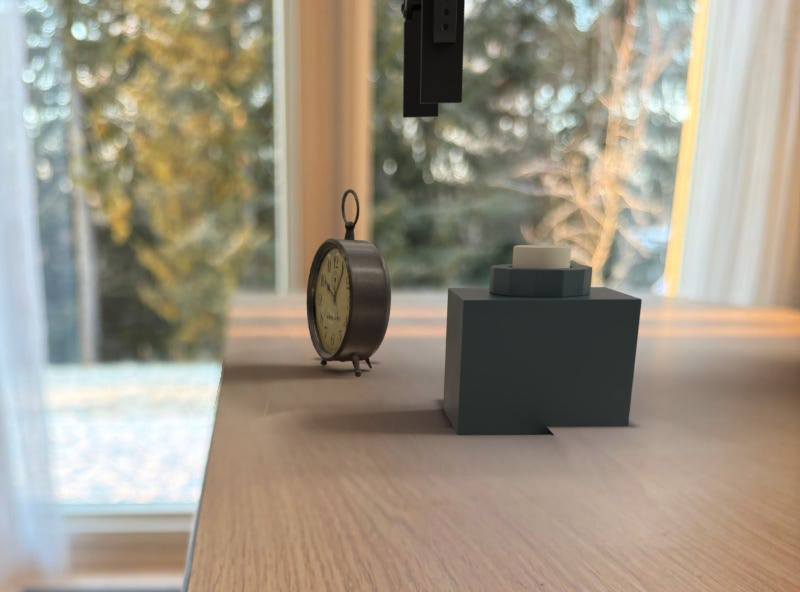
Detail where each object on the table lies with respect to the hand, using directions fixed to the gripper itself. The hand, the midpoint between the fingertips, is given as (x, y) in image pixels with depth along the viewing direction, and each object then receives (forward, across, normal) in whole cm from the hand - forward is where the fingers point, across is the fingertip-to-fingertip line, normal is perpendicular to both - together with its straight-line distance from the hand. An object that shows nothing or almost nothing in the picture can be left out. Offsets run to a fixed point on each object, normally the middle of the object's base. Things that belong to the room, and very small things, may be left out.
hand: (429, 111), depth 77 cm
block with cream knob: (+21, +6, +7) cm, 23 cm away
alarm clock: (+21, -19, -5) cm, 29 cm away
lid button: (+11, +6, +7) cm, 15 cm away
